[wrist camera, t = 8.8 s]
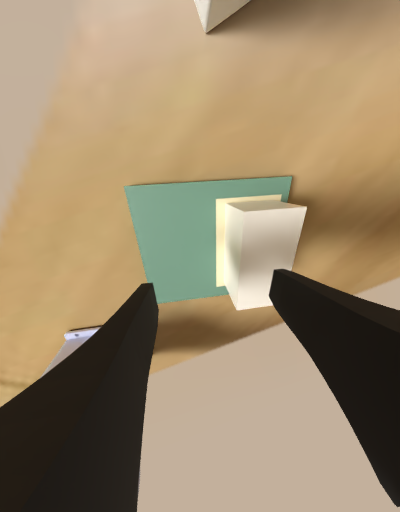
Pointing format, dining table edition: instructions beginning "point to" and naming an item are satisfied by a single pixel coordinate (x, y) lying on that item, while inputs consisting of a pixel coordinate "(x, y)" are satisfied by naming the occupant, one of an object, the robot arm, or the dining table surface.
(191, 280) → the board
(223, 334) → the dining table surface
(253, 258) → the block
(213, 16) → the small box
